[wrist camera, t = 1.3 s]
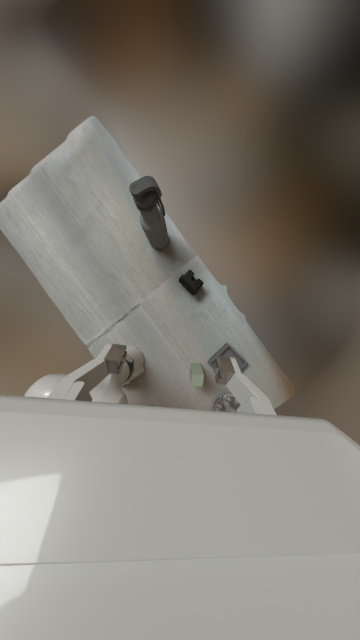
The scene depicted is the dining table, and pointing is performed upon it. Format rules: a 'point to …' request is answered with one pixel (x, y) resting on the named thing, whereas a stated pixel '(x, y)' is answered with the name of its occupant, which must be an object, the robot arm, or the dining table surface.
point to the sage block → (196, 375)
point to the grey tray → (228, 352)
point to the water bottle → (150, 210)
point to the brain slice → (226, 403)
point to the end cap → (190, 282)
